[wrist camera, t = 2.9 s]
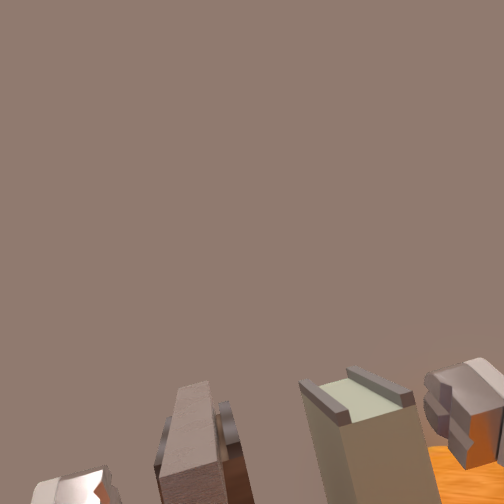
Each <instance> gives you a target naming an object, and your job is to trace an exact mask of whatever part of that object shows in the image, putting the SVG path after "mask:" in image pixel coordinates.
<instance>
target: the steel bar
mask: <svg viewBox="0 0 504 504" xmlns="http://www.w3.org/2000/svg"><path fill="white" fill-rule="evenodd" d="M159 482H160V486H161V491H162V495H163V500H164V504H228V499H227V491H226V484H225V477H224V470H223V463H222V456H221V449H220V442H219V435H218V428H217V421H216V414H215V408H214V404H213V399H212V395H211V391H210V386H209V382H208V380H207V381H203V382H200V383H196V384H192V385H188V386H184V387H181V388H179V389H178V393H177V398H176V402H175V407H174V411H173V416H172V420H171V425H170V429H169V434H168V438H167V443H166V447H165V452H164V457H163V461H162V466H161V470H160V475H159Z"/></svg>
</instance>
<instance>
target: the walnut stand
mask: <svg viewBox="0 0 504 504" xmlns="http://www.w3.org/2000/svg"><path fill="white" fill-rule="evenodd" d="M219 409H220V414H218V415H216V421H217V428H218V435H219V442H220V449H221V456H222V463H223V470H224V477H225V484H226V491H227V499H228V504H255V503H254V499H253V495H252V491H251V486H250V482H249V477H248V473H247V469H246V464H245V460H244V456H243V451H242V447H241V443H240V439H239V435H238V432H237V429H236V425H235V421H234V418H233V414H232V411H231V407H230V404H229V401H225V402H222V403H219ZM171 420H172V416H171V417H168V418H166V422H165V426H164V429H163V433H162V437H161V441H160V444H159V448H158V452H157V456H156V460H155V464H154V470H155V474H156V479H157V483H158V488H159V493H160V497H161V502H162V504H164V500H163V495H162V491H161V486H160V482H159V475H160V470H161V466H162V461H163V457H164V452H165V447H166V443H167V438H168V434H169V429H170V425H171Z"/></svg>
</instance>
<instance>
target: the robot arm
mask: <svg viewBox="0 0 504 504" xmlns="http://www.w3.org/2000/svg"><path fill="white" fill-rule="evenodd" d="M424 385H425V386H426V388H427V389H428V390H429V391H428V392H427V394H426V395H425V397H424V411H425V414H426V417H427V420H428V421H429V423H430V425H431V427H432V428H433V429H434V431H435V432H436V433H437V434H438V435H440V436H442V437H444V438H446V439H448V449H449V450H450V451H451V453H452V454H453V455H454V456H455V458H456V459H457V460H458V462H459V463H460V464H461V465H462V467H463V468H464V469H465V470H468V469H471V468H475V467H478V466H482V465H485V464H489V463H492V462H495V461H497V463H498V464H500V465H501V466H503V467H504V376H503V375H502V374H501V373H500V372H499V371H498V370H496V368H494V367H493V366H492V365H491V364H490V363H489V362H487V361H486V360H485V359H483V358H476V359H473V360H469V361H466V362H463V363H458V364H455V365H452V366H449V367H445V368H442V369H439V370H435V371H432V372H428V373H427V374H426V376H425V379H424ZM111 479H112V475H111V472H110V470H109V468H108V466H107V465H104V466H100V467H96V468H92V469H88V470H84V471H80V472H76V473H72V474H69V475H65V476H61V477H58V478H55V479H51V480H47V481H43V482H39V483H38V485H37V487H36V488H35V490H34V492H33V497H32V501H31V504H122V502H121V498H120V495H119V492H118V489H117V488H116V487H114V486H112V485H111Z"/></svg>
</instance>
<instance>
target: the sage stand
mask: <svg viewBox="0 0 504 504" xmlns="http://www.w3.org/2000/svg"><path fill="white" fill-rule="evenodd" d="M346 370H347V375H348V378H347V379H343V380H340V381H336V382H332V383H329V384H325V385H322V386H317V385H316V384H314V383H313V382H312V381H310V380H309V379H305V380H301V381H298V382H299V387H300V391H301V395H302V399H303V403H304V407H305V411H306V415H307V420H308V423H309V428H310V432H311V436H312V440H313V444H314V448H315V452H316V457H317V461H318V465H319V469H320V473H321V477H322V481H323V485H324V489H325V494H326V497H327V502H328V504H442V503H441V499H440V495H439V491H438V487H437V484H436V480H435V476H434V472H433V468H432V464H431V461H430V457H429V453H428V449H427V445H426V441H425V438H424V434H423V430H422V426H421V422H420V418H419V414H418V411H417V407H416V403H415V399H414V396H413V391H411V390H409V389H407V388H405V387H402V386H400V385H398V384H396V383H393V382H391V381H389V380H387V379H384V378H382V377H380V376H378V375H375V374H373V373H371V372H368V371H366V370H364V369H362V368H360V367H357V366H352V367H348V368H346Z"/></svg>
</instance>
